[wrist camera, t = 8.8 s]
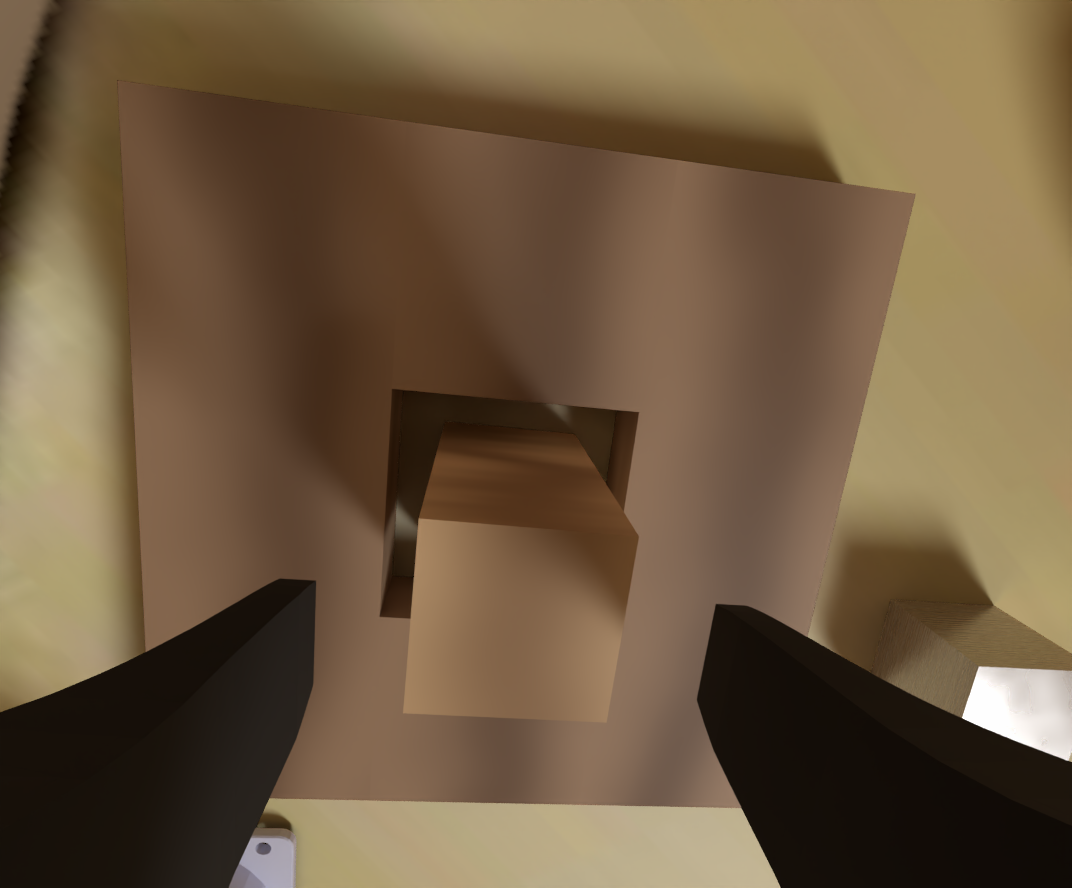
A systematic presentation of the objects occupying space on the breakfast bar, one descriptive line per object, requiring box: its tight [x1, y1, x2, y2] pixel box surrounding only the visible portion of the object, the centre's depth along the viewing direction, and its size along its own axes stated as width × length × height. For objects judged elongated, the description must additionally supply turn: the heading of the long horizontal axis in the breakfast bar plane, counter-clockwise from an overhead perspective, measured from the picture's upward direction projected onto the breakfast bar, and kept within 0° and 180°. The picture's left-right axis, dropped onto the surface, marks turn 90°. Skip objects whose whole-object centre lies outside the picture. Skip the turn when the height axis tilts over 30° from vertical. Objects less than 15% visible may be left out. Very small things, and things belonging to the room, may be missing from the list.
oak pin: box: [403, 421, 639, 723], centre depth 15 cm, size 4×4×8 cm
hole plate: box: [117, 80, 916, 808], centre depth 18 cm, size 19×19×2 cm
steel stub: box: [871, 599, 1072, 761], centre depth 20 cm, size 4×4×4 cm
